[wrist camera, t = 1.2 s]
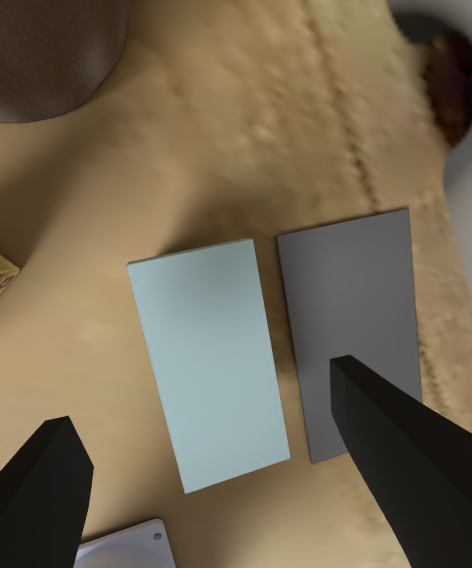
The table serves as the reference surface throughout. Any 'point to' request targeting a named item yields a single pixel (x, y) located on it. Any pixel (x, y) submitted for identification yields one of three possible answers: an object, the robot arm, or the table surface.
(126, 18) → the plant pot
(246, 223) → the table surface
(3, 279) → the candy box
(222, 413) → the lid
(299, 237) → the mat
